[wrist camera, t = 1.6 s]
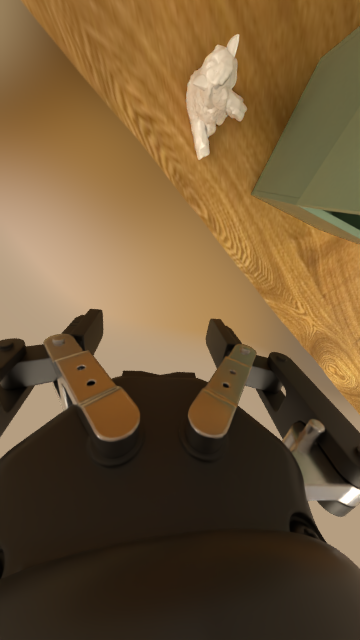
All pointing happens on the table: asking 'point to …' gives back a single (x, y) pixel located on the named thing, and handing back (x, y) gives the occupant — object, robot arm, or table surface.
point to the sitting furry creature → (213, 95)
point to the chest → (316, 139)
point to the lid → (338, 175)
